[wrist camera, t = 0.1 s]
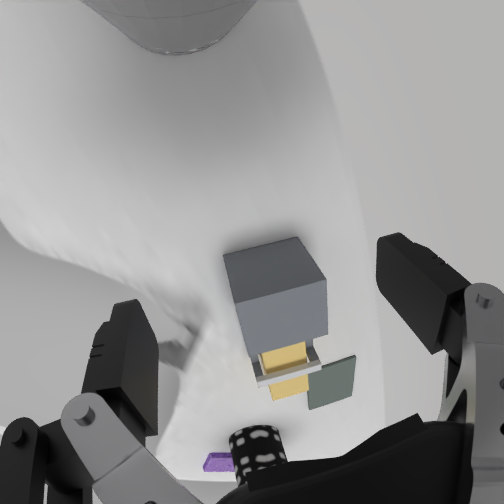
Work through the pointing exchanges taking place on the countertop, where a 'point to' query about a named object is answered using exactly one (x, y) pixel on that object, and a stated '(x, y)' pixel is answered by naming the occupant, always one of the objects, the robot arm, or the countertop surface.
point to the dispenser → (278, 303)
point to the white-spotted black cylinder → (255, 450)
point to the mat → (331, 382)
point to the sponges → (219, 463)
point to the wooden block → (285, 360)
